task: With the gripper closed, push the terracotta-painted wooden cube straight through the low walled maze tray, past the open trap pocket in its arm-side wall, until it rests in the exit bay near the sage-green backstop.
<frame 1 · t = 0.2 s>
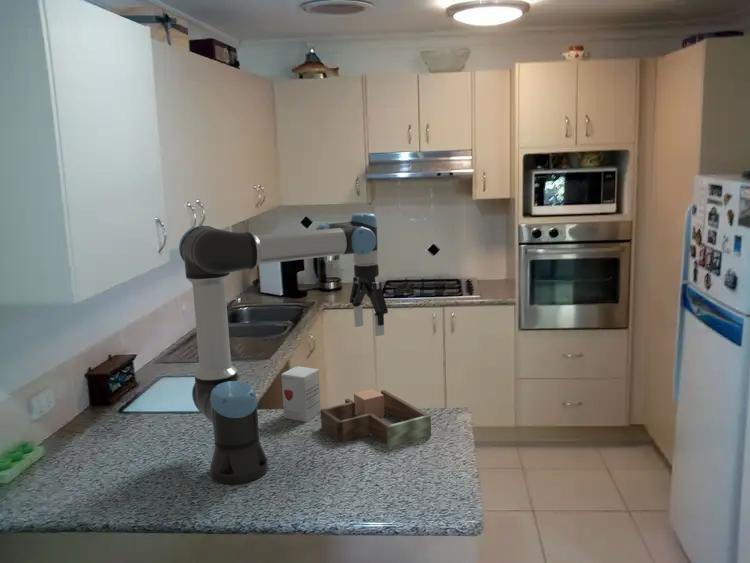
hand: (369, 330, 213), 28 cm above the worktop, fingers open, 13 cm apart
low walled maze tray: (392, 429, 205), on the worktop
block: (369, 415, 217), on the worktop
trap pocket: (346, 430, 205), on the worktop
supplement box: (302, 416, 219), on the worktop
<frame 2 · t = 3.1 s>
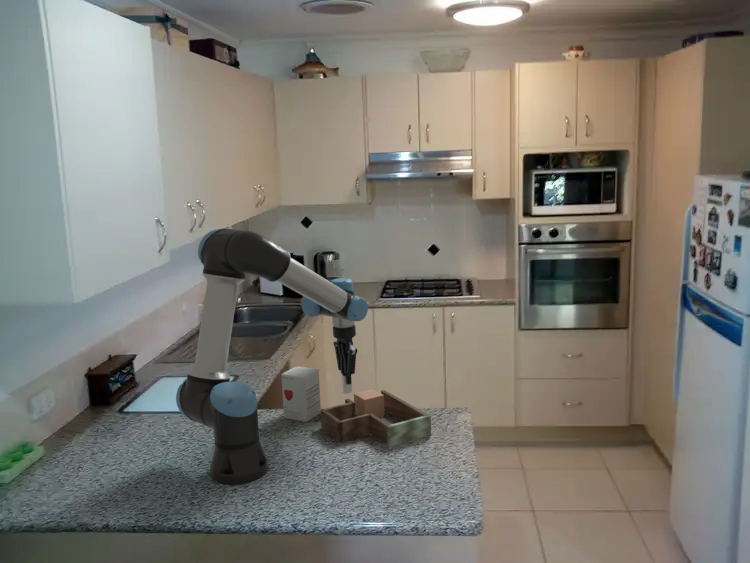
hand: (347, 392, 230), 3 cm above the worktop, fingers closed
nothing on the worktop moved.
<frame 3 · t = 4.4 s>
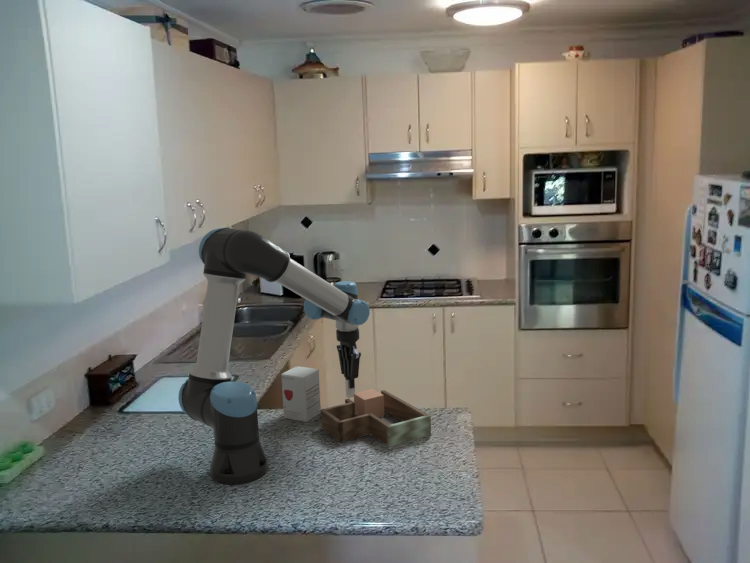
hand: (350, 396, 227), 2 cm above the worktop, fingers closed
nothing on the worktop moved.
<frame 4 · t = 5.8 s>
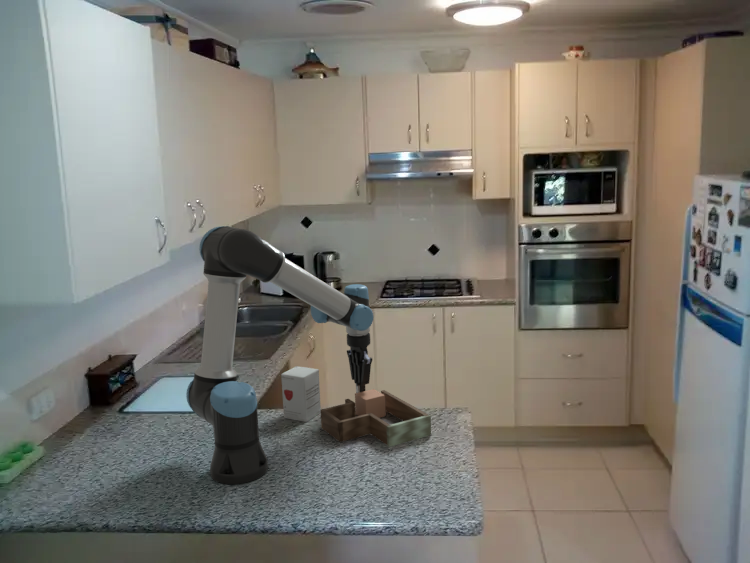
hand: (361, 402, 221), 2 cm above the worktop, fingers closed
block: (370, 415, 217), on the worktop, touching gripper
everything else where it was.
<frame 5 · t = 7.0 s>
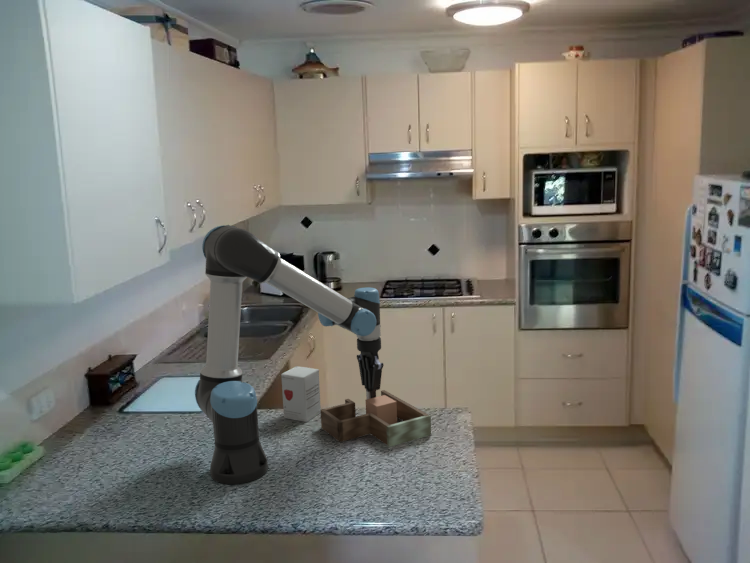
hand: (371, 408, 215), 2 cm above the worktop, fingers closed
block: (381, 421, 211), on the worktop, touching gripper
everything else where it was.
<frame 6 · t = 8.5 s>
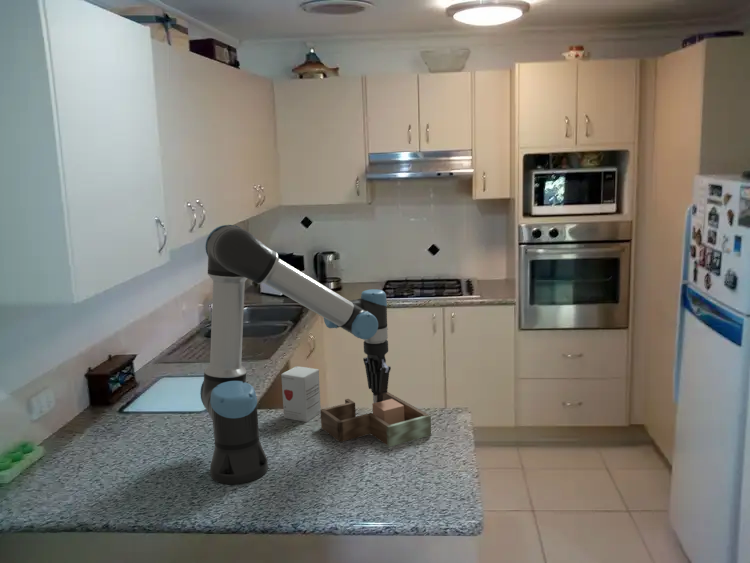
hand: (378, 412, 212), 2 cm above the worktop, fingers closed
block: (388, 426, 208), on the worktop, touching gripper
everything else where it was.
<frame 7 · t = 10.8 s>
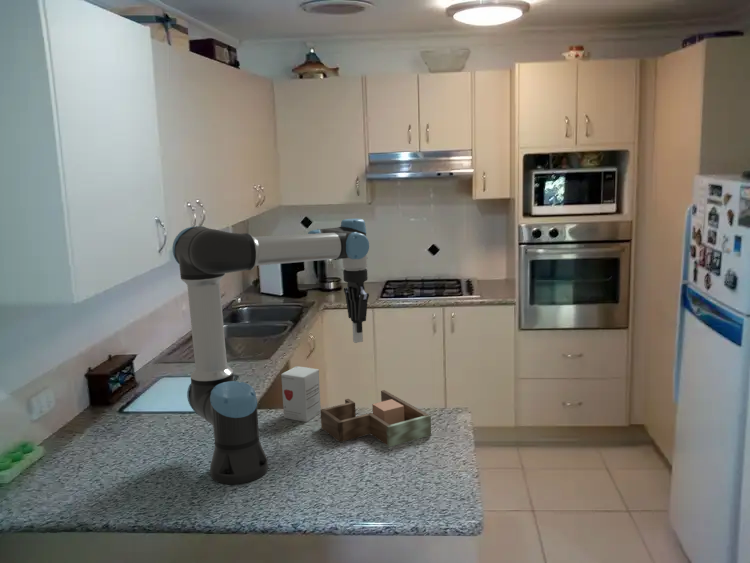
hand: (358, 341, 216), 23 cm above the worktop, fingers closed
block: (388, 426, 208), on the worktop
everything else where it was.
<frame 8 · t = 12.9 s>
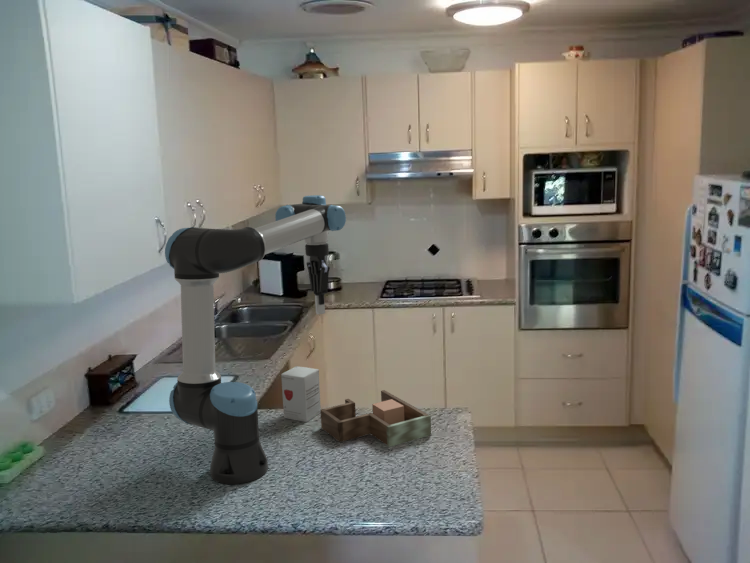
hand: (320, 313, 226), 30 cm above the worktop, fingers closed
nothing on the worktop moved.
at the end: block inside the target area (5.3 cm from its centre), on the worktop; block tilted 0° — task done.
